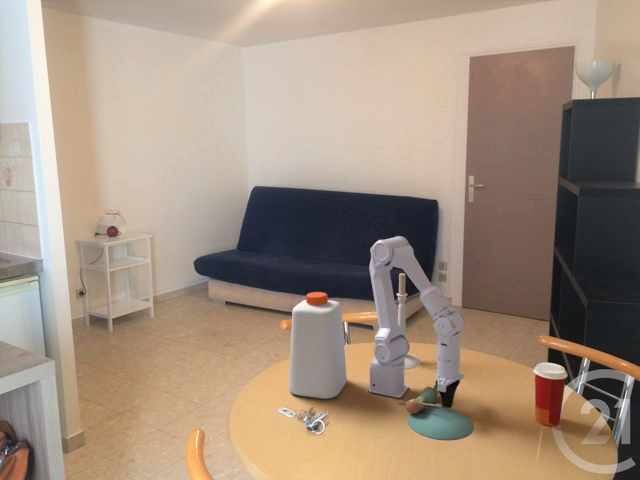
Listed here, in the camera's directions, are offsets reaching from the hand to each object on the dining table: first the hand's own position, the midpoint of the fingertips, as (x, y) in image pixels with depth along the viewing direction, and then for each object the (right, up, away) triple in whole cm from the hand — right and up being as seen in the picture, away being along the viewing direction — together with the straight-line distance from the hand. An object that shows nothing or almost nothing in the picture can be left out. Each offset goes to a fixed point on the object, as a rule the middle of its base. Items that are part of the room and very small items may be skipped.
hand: (447, 406), depth 138 cm
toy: (-1, +2, +8) cm, 8 cm away
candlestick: (-7, +4, +32) cm, 33 cm away
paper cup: (+24, -2, -6) cm, 25 cm away
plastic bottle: (-34, +1, +15) cm, 37 cm away
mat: (-3, -2, -6) cm, 7 cm away
